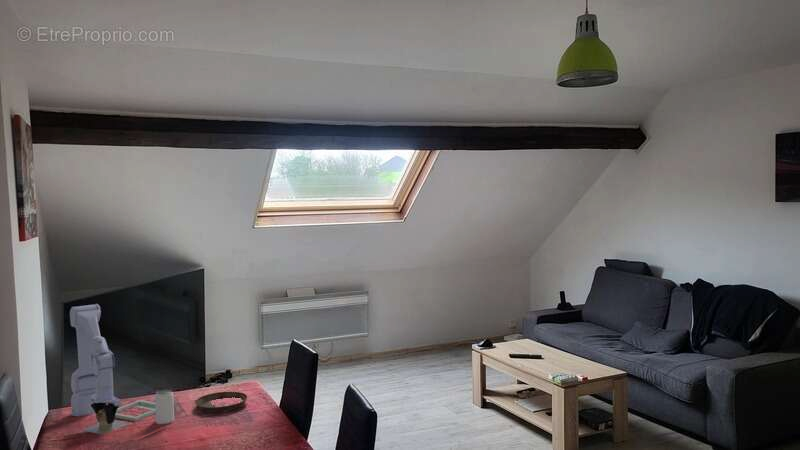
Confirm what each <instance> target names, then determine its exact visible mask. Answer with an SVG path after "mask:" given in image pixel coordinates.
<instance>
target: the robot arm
mask: <svg viewBox="0 0 800 450" xmlns="http://www.w3.org/2000/svg"><path fill="white" fill-rule="evenodd" d="M101 313H102V311H101V306H100V305H99V304H98V303H95V304H88V305H79V306H71V308H70V310H69V319H70V320H69V321H70V323H69V324H70V326H71V327H72V328H75V330H76V331H75V332H76V343H77V345H76V346H77V361H78V368H76V370H75V371H73V373H72V374H71V379H70V380H71V381H70V386H71V387H70V388H71V391H72V395H71V398H70V405H71V406H70V409H71V410H70V411H71V413H69V416H72V417H77V418H78V417H81V416H89V415H93V414H96V413H99V411H100V410H102V409H104V410H105V413H106V418H107V423H108V424H111V423H113V422H114V420H115V414H116V411H117V409H118V408H120V406H121V405H122V399H121V398H118V397H116V396H115V395H114V378H113V377H114V375H113V368H114V367H115V365H116V364H115V363H116V360H115V356H114V353H113V352H112V351H111V349H109V346H108V344H107V340H106V338H105V337H103V336H101V331H100V326H99V322H100V318H101V316H102V315H101ZM97 421H98V422H97V423H99V419H97Z"/></svg>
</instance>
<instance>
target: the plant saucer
mask: <svg viewBox="0 0 800 450" xmlns="http://www.w3.org/2000/svg"><path fill="white" fill-rule="evenodd" d="M232 397H233V398H234V397H235V398H241V399H242V400H243V401H242V402H240V403H237V404H233V405H229V406H222V407H215V405H213V406H212V404H211V402H210V401H212V400H216V399H223V398H232ZM247 399H248V395H247V394H246V393H243V392H241V391H221V392H220V391H219V392H213V393H207V394H205V395H202V396H200V397H198V398H196V399H195V400H194V404H195V406H196V407H197V408H198V409H199V410H201V411H202V412H205V413H210V412H220V413H225V412H224V411H227V412H230V411H229V410H231V411H234V410H236V408H237V409H238V407H239V408H240V407H242V406H243V405H244V404H245V402H246V401H247ZM209 403H210V404H209ZM241 405H242V406H241ZM233 409H234V410H233Z"/></svg>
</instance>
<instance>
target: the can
mask: <svg viewBox="0 0 800 450" xmlns="http://www.w3.org/2000/svg"><path fill="white" fill-rule="evenodd" d="M154 403H155V411H156V413H155V423H156V424H158V425H163V424H164V425H165V424H166V425H167V426H168V425H171V424H173V423H174V421H175V406H174V393H173V390H172V389H169V388H167V389H159V390H157V391H156V393H155V396H154Z"/></svg>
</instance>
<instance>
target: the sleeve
mask: <svg viewBox="0 0 800 450" xmlns="http://www.w3.org/2000/svg"><path fill="white" fill-rule="evenodd" d="M95 419H96V420H98V419H99V422H98V423H99V428H101V429H106V428H110V427H112V426H113V423H111V424H108V423H107V418H106V413H105V410H104V409H102V410H100V411H99V413H95Z"/></svg>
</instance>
